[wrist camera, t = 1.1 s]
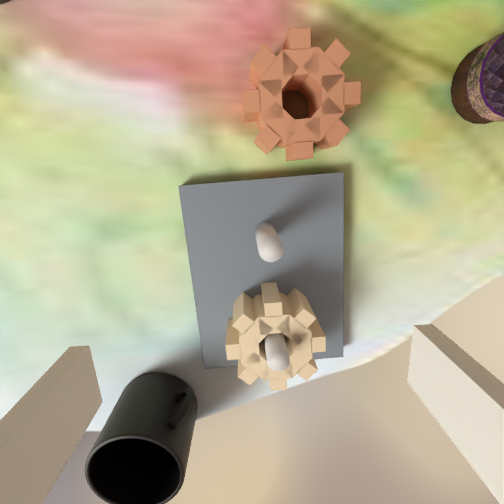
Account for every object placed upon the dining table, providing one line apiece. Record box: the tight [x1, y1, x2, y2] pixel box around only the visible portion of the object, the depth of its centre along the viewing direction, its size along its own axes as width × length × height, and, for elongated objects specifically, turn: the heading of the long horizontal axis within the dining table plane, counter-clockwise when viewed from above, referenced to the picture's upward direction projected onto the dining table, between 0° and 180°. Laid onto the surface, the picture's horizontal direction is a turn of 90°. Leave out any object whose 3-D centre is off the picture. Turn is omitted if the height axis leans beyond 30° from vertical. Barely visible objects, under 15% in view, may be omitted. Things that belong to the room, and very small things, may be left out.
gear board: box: [179, 172, 344, 391], centre depth 29 cm, size 21×16×8 cm
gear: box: [242, 28, 361, 161], centre depth 26 cm, size 9×9×5 cm
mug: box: [85, 373, 197, 504], centre depth 33 cm, size 9×12×9 cm
